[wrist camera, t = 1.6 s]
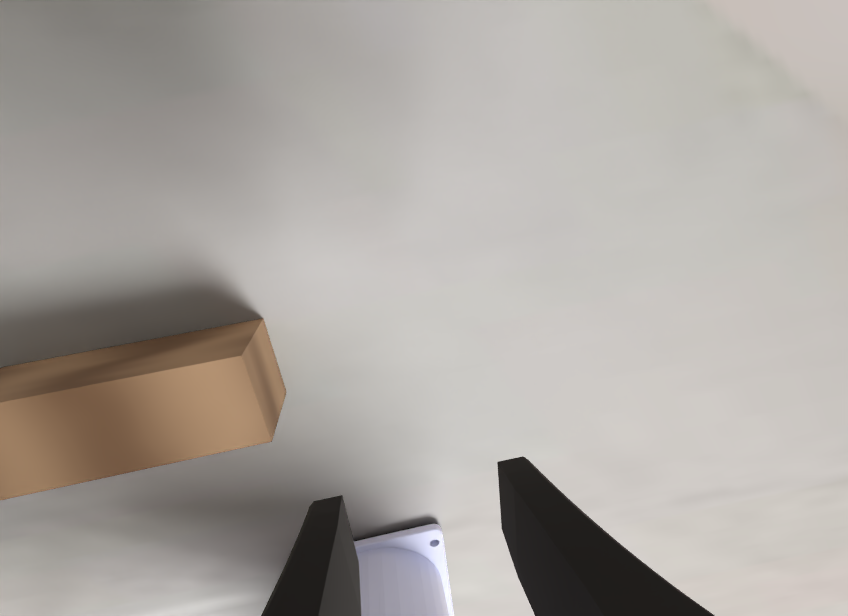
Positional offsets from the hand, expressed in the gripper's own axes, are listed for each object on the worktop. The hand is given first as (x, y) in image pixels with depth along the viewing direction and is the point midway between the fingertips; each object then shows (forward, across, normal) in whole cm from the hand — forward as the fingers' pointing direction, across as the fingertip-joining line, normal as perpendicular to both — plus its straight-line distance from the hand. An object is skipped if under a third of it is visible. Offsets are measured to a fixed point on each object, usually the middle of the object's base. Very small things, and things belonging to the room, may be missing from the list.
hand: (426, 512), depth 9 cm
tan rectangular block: (+10, +10, 0) cm, 14 cm away
